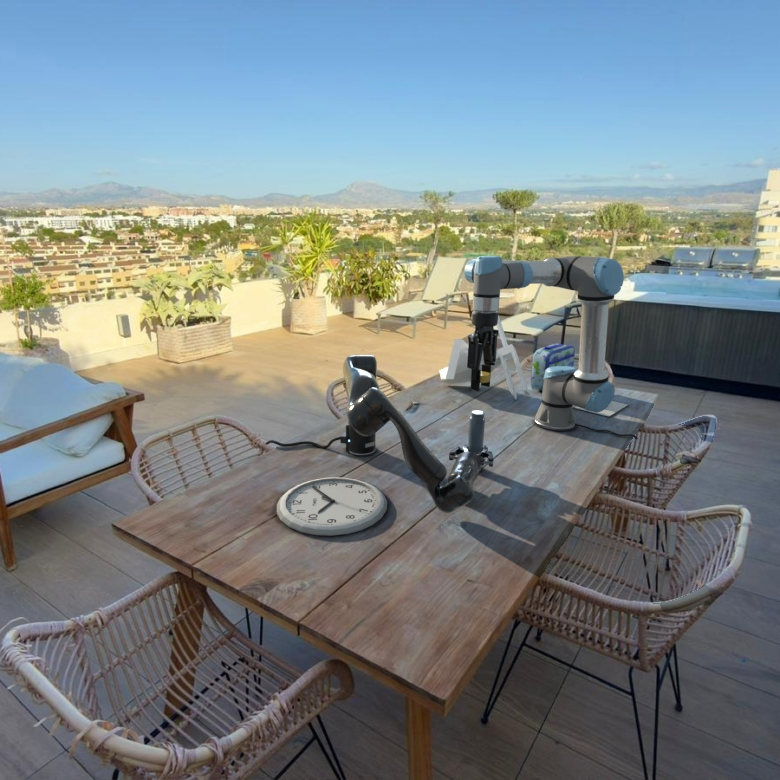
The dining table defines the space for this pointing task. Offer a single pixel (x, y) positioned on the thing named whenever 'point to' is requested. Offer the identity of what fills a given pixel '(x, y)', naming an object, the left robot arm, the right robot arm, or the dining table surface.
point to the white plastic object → (462, 374)
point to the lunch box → (550, 361)
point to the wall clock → (331, 506)
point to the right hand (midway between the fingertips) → (480, 387)
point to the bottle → (476, 431)
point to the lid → (484, 377)
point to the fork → (413, 403)
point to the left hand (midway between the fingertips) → (476, 447)
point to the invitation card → (608, 408)
